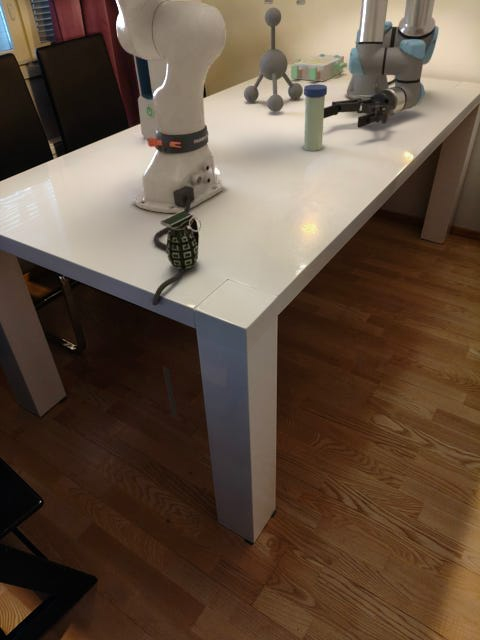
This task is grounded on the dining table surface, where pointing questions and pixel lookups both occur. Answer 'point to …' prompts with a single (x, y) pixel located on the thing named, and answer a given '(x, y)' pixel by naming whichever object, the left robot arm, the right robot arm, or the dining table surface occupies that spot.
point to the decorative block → (318, 67)
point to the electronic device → (148, 92)
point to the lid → (315, 90)
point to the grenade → (182, 240)
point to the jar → (314, 123)
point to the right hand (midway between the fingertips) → (340, 117)
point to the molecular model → (273, 68)
